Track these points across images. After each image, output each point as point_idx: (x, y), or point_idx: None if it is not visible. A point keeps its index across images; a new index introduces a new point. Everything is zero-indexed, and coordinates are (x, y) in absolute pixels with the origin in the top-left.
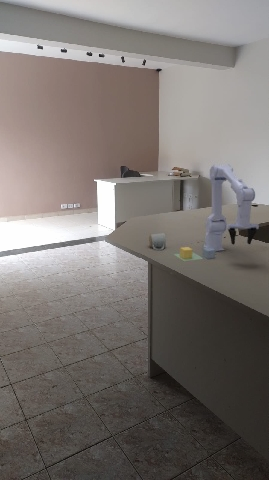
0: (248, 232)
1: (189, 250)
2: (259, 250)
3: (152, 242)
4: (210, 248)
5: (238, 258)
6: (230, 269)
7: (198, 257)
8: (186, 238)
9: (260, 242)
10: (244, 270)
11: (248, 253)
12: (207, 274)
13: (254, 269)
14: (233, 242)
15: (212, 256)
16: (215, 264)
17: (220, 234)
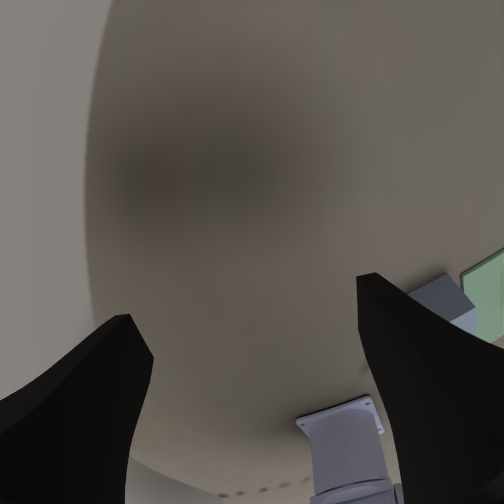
0: (112, 485)
1: None
2: None
3: None
4: None
5: (240, 326)
6: (341, 81)
7: (478, 291)
8: None
9: (142, 463)
10: (230, 71)
11: (178, 393)
12: (479, 12)
13: (149, 112)
14: (388, 283)
15: (421, 300)
16: (426, 187)
17: (336, 486)
